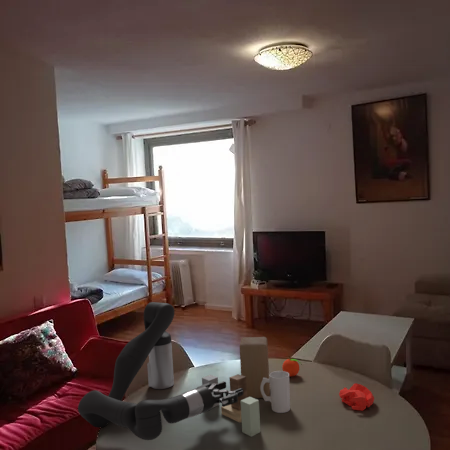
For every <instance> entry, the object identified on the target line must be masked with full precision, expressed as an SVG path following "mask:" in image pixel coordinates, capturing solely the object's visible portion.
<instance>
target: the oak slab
mask: <svg viewBox="0 0 450 450" xmlns="http://www.w3.org/2000/svg"><path fill="white" fill-rule="evenodd" d="M220 408H221V409H220V410H221V415H222V416H225V417H227V418H229V419H231V420H233V421H236V422H238V423H242V419H241V410H238V409H235V408H233V407H231V404H230V405H228V406H225V407H223V406H222V405H221V407H220Z"/></svg>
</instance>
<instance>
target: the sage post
mask: <svg viewBox="0 0 450 450" xmlns="http://www.w3.org/2000/svg"><path fill="white" fill-rule="evenodd" d="M260 416H261V415H260V401H259V399H258V398H252V397H248V398H245V399H243V400H241V419H242V422H241V430H242V431H241V432H242V434H246V436H249V437H254V436H256V435H257V434H259V433H261V418H260Z"/></svg>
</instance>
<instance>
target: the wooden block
mask: <svg viewBox="0 0 450 450" xmlns="http://www.w3.org/2000/svg"><path fill="white" fill-rule="evenodd" d="M268 345H269V344H268V338H267V337H266V336H253V337H252V336H249V337H248V336H246V337H244V336H243V337H241V338H240V343H239V360H240V361H239V362H240V375H242V376H245V377H246V382H247V397H252V398H255V399H264V398H263V396H262V394H261V390H260V386H261V382H262V380H263V377H264V378H267V379H269V378H270V377H269V374H270V368H269V367H270V364H269V348H268ZM263 390H264V393H265V395H266V396H271V391H270V383H268V382H267V383H265V384H264V386H263Z"/></svg>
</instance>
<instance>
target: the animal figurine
mask: <svg viewBox="0 0 450 450" xmlns="http://www.w3.org/2000/svg"><path fill="white" fill-rule="evenodd" d="M338 395H339V398H340V399H341V402H342V403H345V404H346V405H347V406H349V407H351V409H352V410H353V411H354V410H355V411H361V412H363V411H364V410H365V409H366V408H370V407H371V406H372V405H373V403H374V401H375V397H374V395H373V393H372V391H371V390H370V389H369V388H368V387H366V386H365V385H362V384H360V383H357V382H355V383H353V384H352V386H350V388H349V389H348V388H347V387H343V389H340V390H339V392H338Z"/></svg>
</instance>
